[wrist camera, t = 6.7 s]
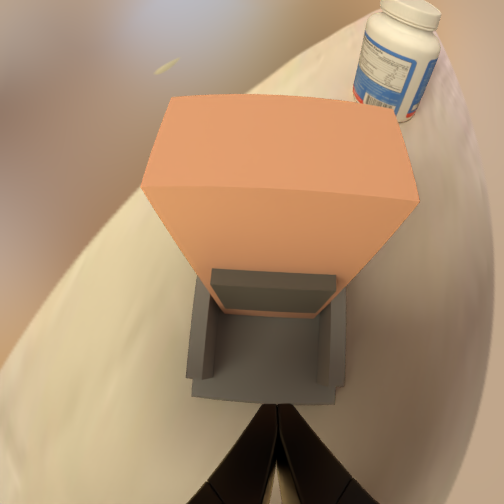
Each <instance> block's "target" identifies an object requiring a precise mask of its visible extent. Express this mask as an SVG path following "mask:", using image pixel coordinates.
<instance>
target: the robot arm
mask: <svg viewBox="0 0 504 504" xmlns="http://www.w3.org/2000/svg"><path fill="white" fill-rule="evenodd" d="M276 465H277V474H278V480H279V486H280V492H281V498H282V504H379V503H378V502H377V501H376V500H374V499H373V498H372V497H371V496H370V495H369V494H368V493H367V492H366V491H365V490H364V489H363V488H362V486H361V485H360V484H359V483H358V482H357V481H356V480H355V479H354V478H352V476H351V475H350V474H349V472H348V471H347V470H346V469H345V468H344V467H343V466H342V464H341V463H340V462H339V461H338V460H337V459H336V457H335V456H334V455H333V454H332V453H331V451H330V450H329V449H328V448H327V447H326V446H325V444H324V443H323V442H322V441H321V440H320V438H319V437H318V436H317V435H316V433H315V432H314V431H313V430H312V429H311V427H310V426H309V425H308V424H307V422H306V421H305V420H304V419H303V417H302V416H301V415H300V414H299V412H298V411H297V410H296V409H295V407H294V406H293V405H292V404H291V403H280V404H278V405H276V404H262V406H261V407H260V408H259V410H258V411H257V413H256V414H255V416H254V417H253V419H252V420H251V422H250V423H249V424H248V426H247V427H246V429H245V430H244V432H243V433H242V434H241V436H240V437H239V439H238V440H237V441H236V443H235V444H234V445H233V447H232V448H231V450H230V451H229V452H228V454H227V455H226V456H225V458H224V459H223V460H222V462H221V463H220V464H219V465H218V467H217V468H216V469H215V471H214V472H213V473H212V475H211V476H210V477H209V478H208V480H207V481H208V482H207V481H206V482H205V483H204V484H203V485H202V487H201V488H200V489H199V490H198V491H197V493H196V494H195V495H194V496H193V497H192V498H191V499H190V500H189V501H188V502H187V504H269V503H270V498H271V493H272V487H273V481H274V475H275V469H276Z"/></svg>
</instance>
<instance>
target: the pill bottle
mask: <svg viewBox="0 0 504 504" xmlns="http://www.w3.org/2000/svg"><path fill="white" fill-rule="evenodd" d="M380 5H381V6H380V7H381V9H382V11H383V12H381V13H376V14H373V15H371V16H370V17H369V18H368V20H367V24H366V28H365V33H364V38H363V43H362V48H361V53H360V58H359V63H358V67H357V72H356V76H355V81H354V85H353V95H354V98H355V100H356V102H357V103H362V104H368V105H374V106H379V107H385V108H390V109H393V110H394V113H395V116H396V118H397V121H398V122H405V121H407V120H409V119H410V118H411V117H412V116H413V115H414V113H415V111H416V109H417V107H418V104H419V102H420V100H421V98H422V96H423V93H424V91H425V88H426V86H427V84H428V81H429V79H430V76H431V74H432V72H433V69H434V67H435V64H436V62H437V59H438V56H439V53H440V43H439V41H438V39H437V37H436V36H435V35H434V34H433V33H432V32H433V31H435V30H437V27H438V24H439V21H440V17H441V12H440V11H439V10H438V9H437V8H436V7H434V6H433V5H431V4H430V3H428V2H426V1H424V0H381V2H380Z"/></svg>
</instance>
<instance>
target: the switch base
mask: <svg viewBox="0 0 504 504" xmlns="http://www.w3.org/2000/svg"><path fill="white" fill-rule="evenodd" d="M345 356H346V286H345V287H344V288H343V289H342V291H341V292H340V293H339V294H338V295H337V296H336V297H335V298H334V299H333V300H332V301H331V302H330V303H329V304H328V305H327V306H326V307H325V308H324V309H323V310H322V311H321V312H320V313H319V314H318V315H317V316H316V317H315V318H314V319H309V318H284V317H264V316H248V315H233V314H224V313H223V311H222V310H221V308H220V307H219V306H218V304H217V303H216V301H215V300H214V298H213V297H212V296H211V294H210V293H209V291H208V290H207V288H206V287H205V286H204V284H203V283H202V281H201V280H200V278H199V277H198V275H197V279H196V287H195V295H194V303H193V312H192V321H191V330H190V339H189V349H188V360H187V371H186V378H190V379H193V383H192V396H193V397H200V398H208V399H216V400H226V401H236V402H248V403H264V404H280V403H291V404H292V405H331V404H335V392H336V387H344V379H345Z"/></svg>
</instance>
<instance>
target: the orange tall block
mask: <svg viewBox="0 0 504 504" xmlns="http://www.w3.org/2000/svg"><path fill="white" fill-rule="evenodd" d="M140 187H141V189H142V190H143V192H144V193H145V195H146V197H147V198H148V200H149V202H150V203H151V205H152V206H153V208H154V210H155V211H156V213H157V214H158V216H159V218H160V219H161V221H162V222H163V224H164V225H165V227H166V228H167V230H168V232H169V233H170V235H171V236H172V238H173V239H174V241H175V242H176V244H177V245H178V247H179V248H180V250H181V251H182V253H183V254H184V256H185V257H186V259H187V260H188V262H189V263H190V265H191V266H192V268H193V269H194V271H195V272H196V274H197V275H198V277H199V278H200V280H201V281H202V283H203V284H204V286H205V287H206V288H207V290H208V291H209V293H210V294H211V296H212V297H213V298H214V300H215V301H216V303H217V304H218V306H219V307H220V308H221V310H222V311H223V313H224V314H233V315H248V316H264V317H284V318H309V319H314V318H315V317H316V316H317V315H318V314H319V313H320V312H321V311H322V310H323V309H324V308H325V307H326V306H327V305H328V304H329V303H330V302H331V301H332V300H333V299H334V298H335V297H336V296H337V295H338V294H339V293H340V292H341V291H342V289H343V288H344V287H345V286H346V285H347V284H348V283H349V282H350V281H351V280H352V279H353V278H354V277H355V276H356V275H357V274H358V273H359V272H360V270H361V269H362V268H363V267H364V266H365V265H366V264H367V263H368V262H369V261H370V260H371V258H372V257H373V256H374V255H375V254H376V253H377V252H378V251H379V250H380V248H381V247H382V246H383V245H384V244H385V243H386V242H387V240H388V239H389V238H390V237H391V236H392V235H393V234H394V232H395V231H396V230H397V229H398V228H399V227H400V225H401V224H402V223H403V222H404V221H405V219H406V218H407V217H408V216H409V215H410V213H411V212H412V211H413V210H414V208H415V207H416V206H417V205H418V203H419V202H420V200H419V196H418V191H417V187H416V183H415V179H414V175H413V171H412V167H411V164H410V160H409V156H408V153H407V150H406V146H405V143H404V140H403V137H402V133H401V130H400V127H399V124H398V121H397V118H396V116H395V113H394V110H393V109H390V108H385V107H379V106H374V105H368V104H362V103H355V102H348V101H340V100H332V99H323V98H313V97H300V96H285V95H261V94H221V95H197V96H196V95H195V96H180V97H172V98H171V100H170V102H169V105H168V108H167V110H166V113H165V115H164V118H163V120H162V124H161V126H160V129H159V131H158V134H157V137H156V140H155V143H154V145H153V149H152V152H151V154H150V157H149V160H148V164H147V167H146V170H145V173H144V176H143V180H142V183H141V186H140Z"/></svg>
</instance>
